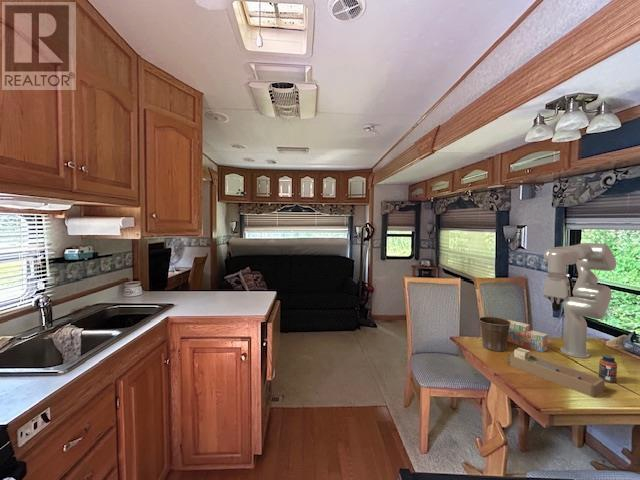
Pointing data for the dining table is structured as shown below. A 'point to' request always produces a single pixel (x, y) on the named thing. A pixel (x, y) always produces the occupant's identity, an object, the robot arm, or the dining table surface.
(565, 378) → the track
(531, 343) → the stack of blocks
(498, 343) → the plant pot
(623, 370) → the dining table surface
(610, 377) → the supplement bottle
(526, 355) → the birch block
